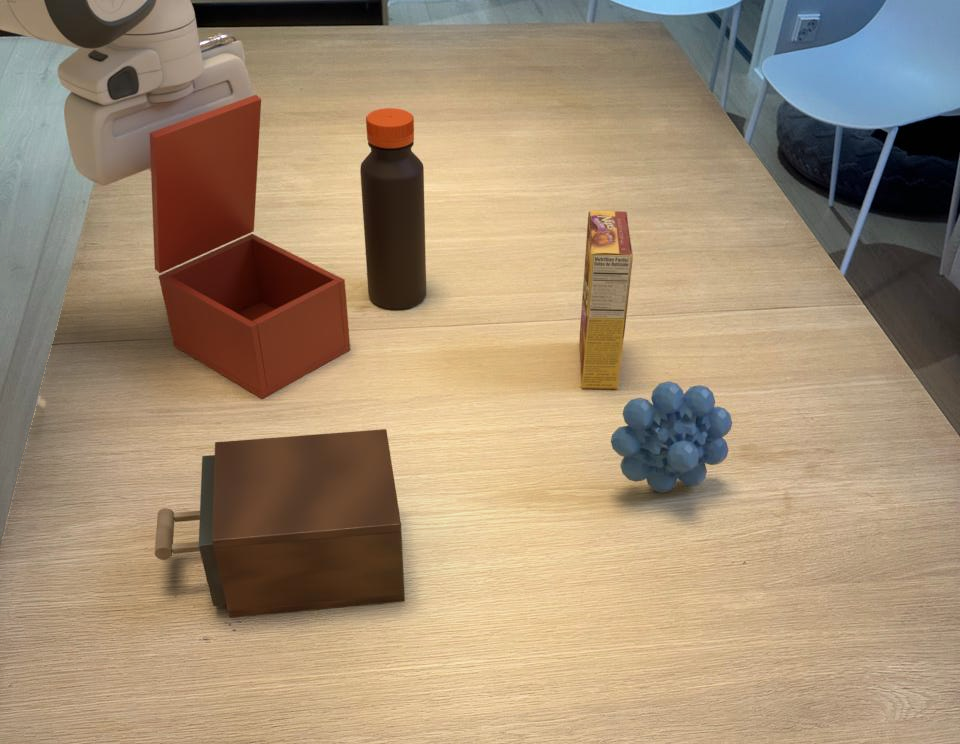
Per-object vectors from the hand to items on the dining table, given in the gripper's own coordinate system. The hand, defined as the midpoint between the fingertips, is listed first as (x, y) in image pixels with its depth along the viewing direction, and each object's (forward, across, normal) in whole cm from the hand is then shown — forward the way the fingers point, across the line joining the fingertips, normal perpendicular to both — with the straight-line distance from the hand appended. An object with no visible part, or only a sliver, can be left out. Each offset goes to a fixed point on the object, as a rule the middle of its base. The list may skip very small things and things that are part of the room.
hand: (181, 197), depth 110 cm
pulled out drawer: (+13, +22, +36) cm, 44 cm away
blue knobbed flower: (+14, -9, +57) cm, 59 cm away
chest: (+14, 0, +10) cm, 17 cm away
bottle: (+14, -18, +13) cm, 26 cm away
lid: (-3, 0, +5) cm, 6 cm away
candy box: (+14, -22, +39) cm, 47 cm away
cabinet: (+14, +19, +39) cm, 45 cm away
